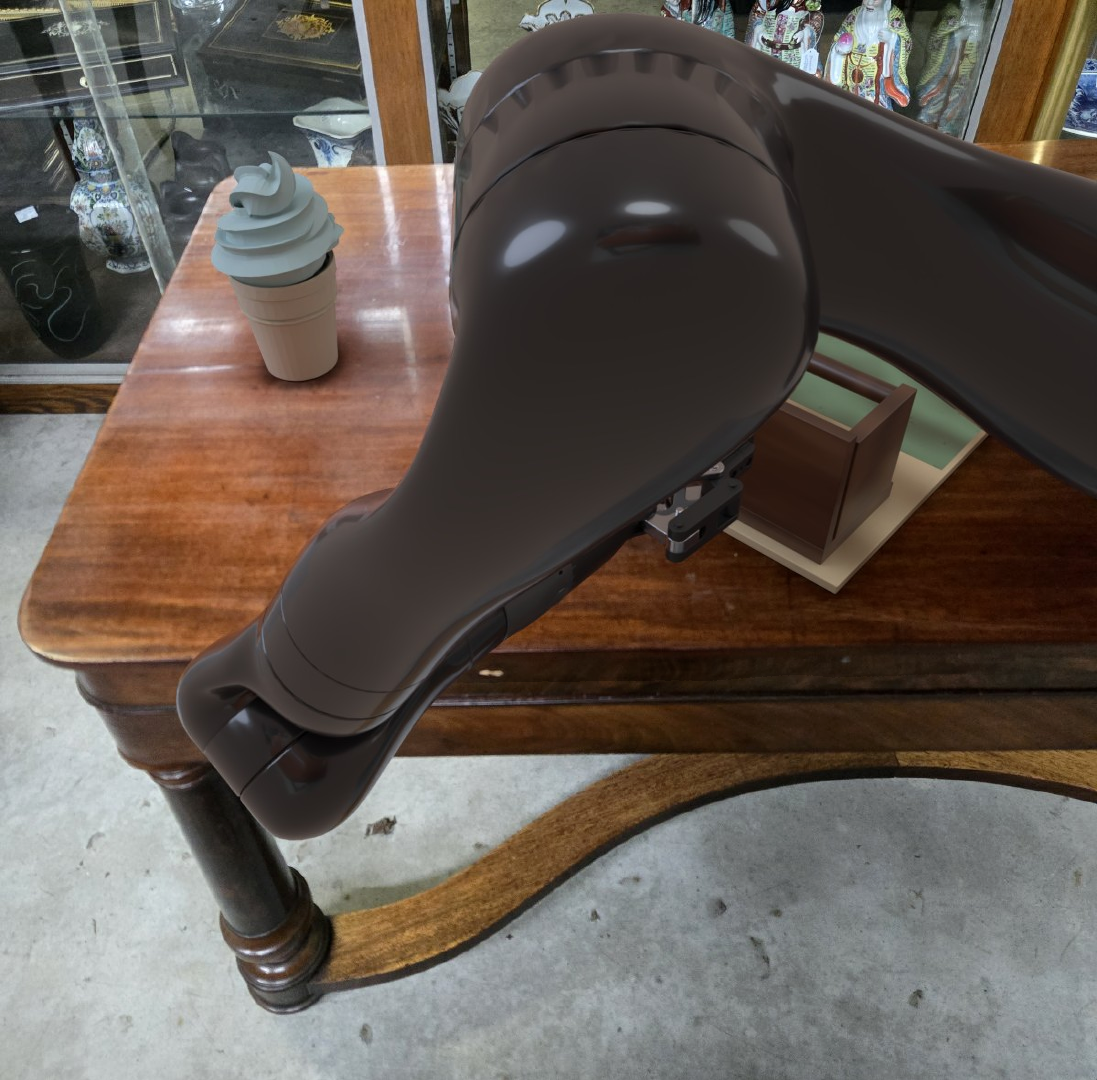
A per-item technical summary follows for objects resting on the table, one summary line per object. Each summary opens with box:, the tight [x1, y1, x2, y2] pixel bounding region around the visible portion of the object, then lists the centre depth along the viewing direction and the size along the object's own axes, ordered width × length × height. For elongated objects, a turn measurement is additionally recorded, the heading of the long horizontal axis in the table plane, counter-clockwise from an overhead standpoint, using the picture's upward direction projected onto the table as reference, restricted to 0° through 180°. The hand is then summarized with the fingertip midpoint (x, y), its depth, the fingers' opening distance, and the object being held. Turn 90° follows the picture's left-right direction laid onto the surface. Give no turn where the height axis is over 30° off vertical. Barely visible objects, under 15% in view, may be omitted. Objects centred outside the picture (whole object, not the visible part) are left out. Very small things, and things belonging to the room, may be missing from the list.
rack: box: [686, 351, 917, 565], centre depth 78 cm, size 10×16×12 cm, turn 48°
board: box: [684, 333, 990, 595], centre depth 86 cm, size 28×20×1 cm
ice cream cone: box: [210, 150, 345, 382], centre depth 89 cm, size 10×11×20 cm
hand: (692, 415), depth 67 cm, fingers open, 8 cm apart
